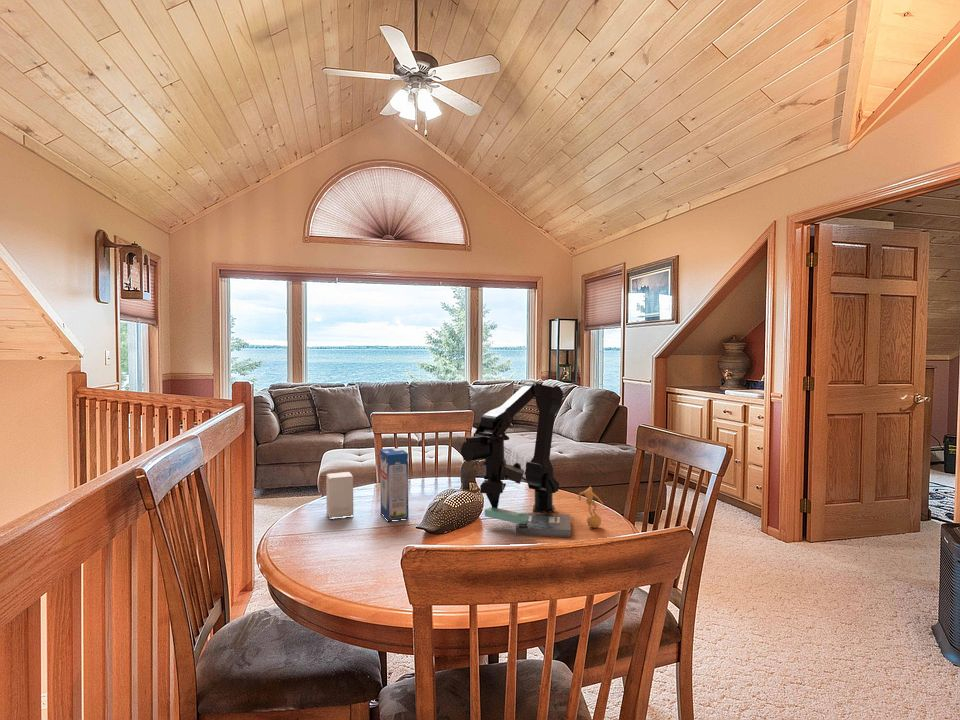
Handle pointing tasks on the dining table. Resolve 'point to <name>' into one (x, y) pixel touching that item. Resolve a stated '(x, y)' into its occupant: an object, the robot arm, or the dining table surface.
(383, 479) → the milk carton
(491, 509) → the swing bar
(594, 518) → the figurine
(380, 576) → the dining table surface
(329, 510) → the supplement box
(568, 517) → the server tray
